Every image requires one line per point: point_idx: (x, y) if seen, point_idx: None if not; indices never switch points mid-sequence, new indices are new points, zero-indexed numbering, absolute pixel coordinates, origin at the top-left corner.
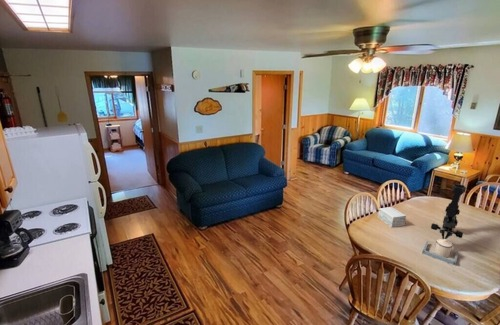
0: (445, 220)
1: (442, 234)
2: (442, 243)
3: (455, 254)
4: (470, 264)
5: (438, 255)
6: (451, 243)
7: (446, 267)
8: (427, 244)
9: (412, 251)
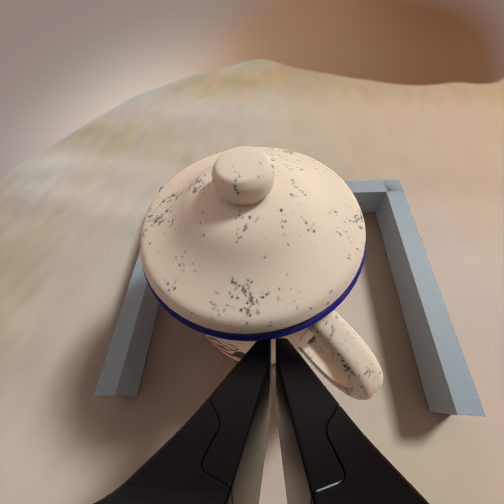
0: None
1: (365, 449)
2: (273, 156)
3: (141, 327)
4: (57, 286)
5: None
6: (145, 246)
7: None
8: (425, 319)
9: (447, 182)
